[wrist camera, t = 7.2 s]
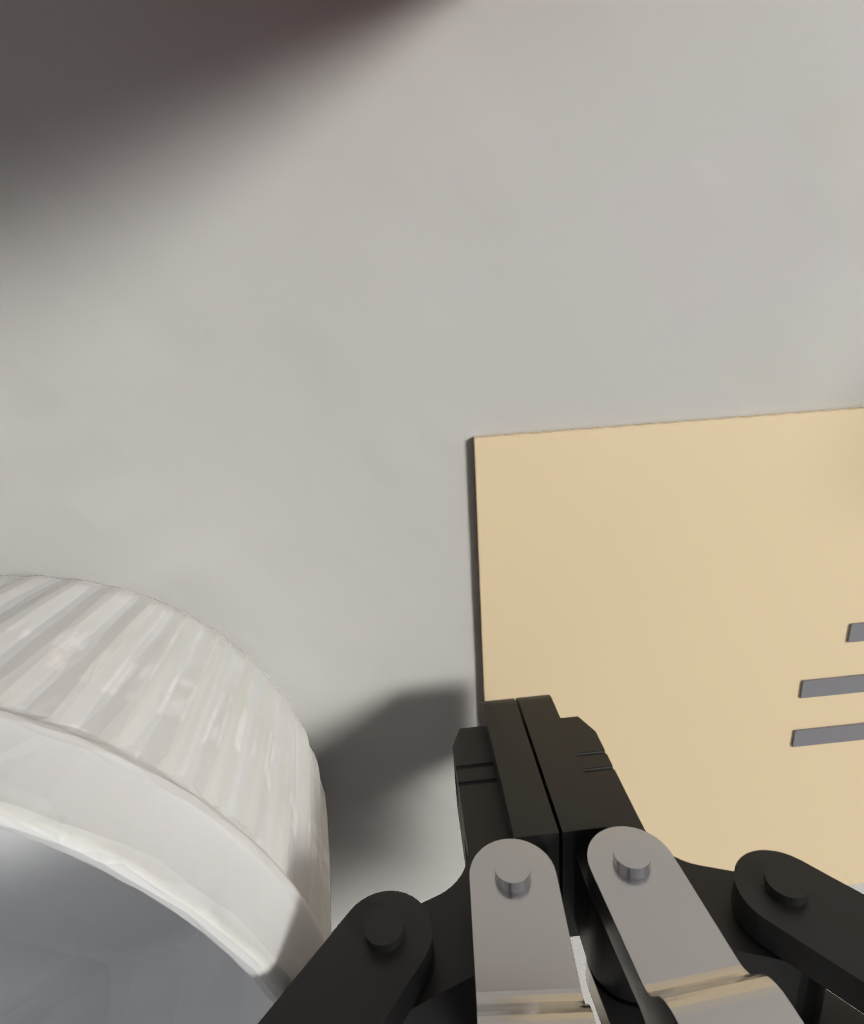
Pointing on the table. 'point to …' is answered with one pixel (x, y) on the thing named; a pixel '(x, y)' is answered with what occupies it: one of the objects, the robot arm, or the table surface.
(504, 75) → the table surface
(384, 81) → the table surface
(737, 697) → the letter
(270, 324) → the table surface
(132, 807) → the ramekin
